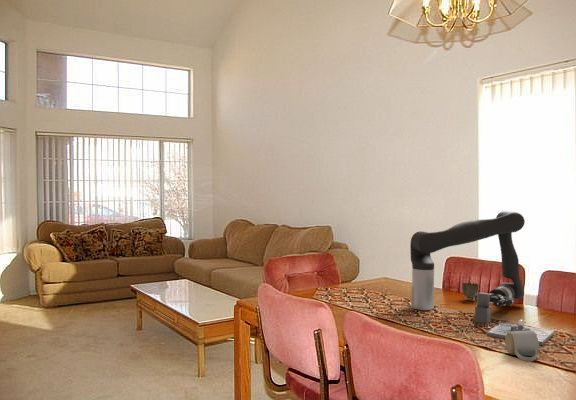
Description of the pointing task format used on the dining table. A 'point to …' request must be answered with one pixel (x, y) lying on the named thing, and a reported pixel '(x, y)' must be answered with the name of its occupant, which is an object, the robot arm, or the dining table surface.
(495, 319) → the dining table surface
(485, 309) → the knob
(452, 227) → the robot arm
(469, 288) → the cup
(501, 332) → the base plate
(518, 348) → the ceramic mug
